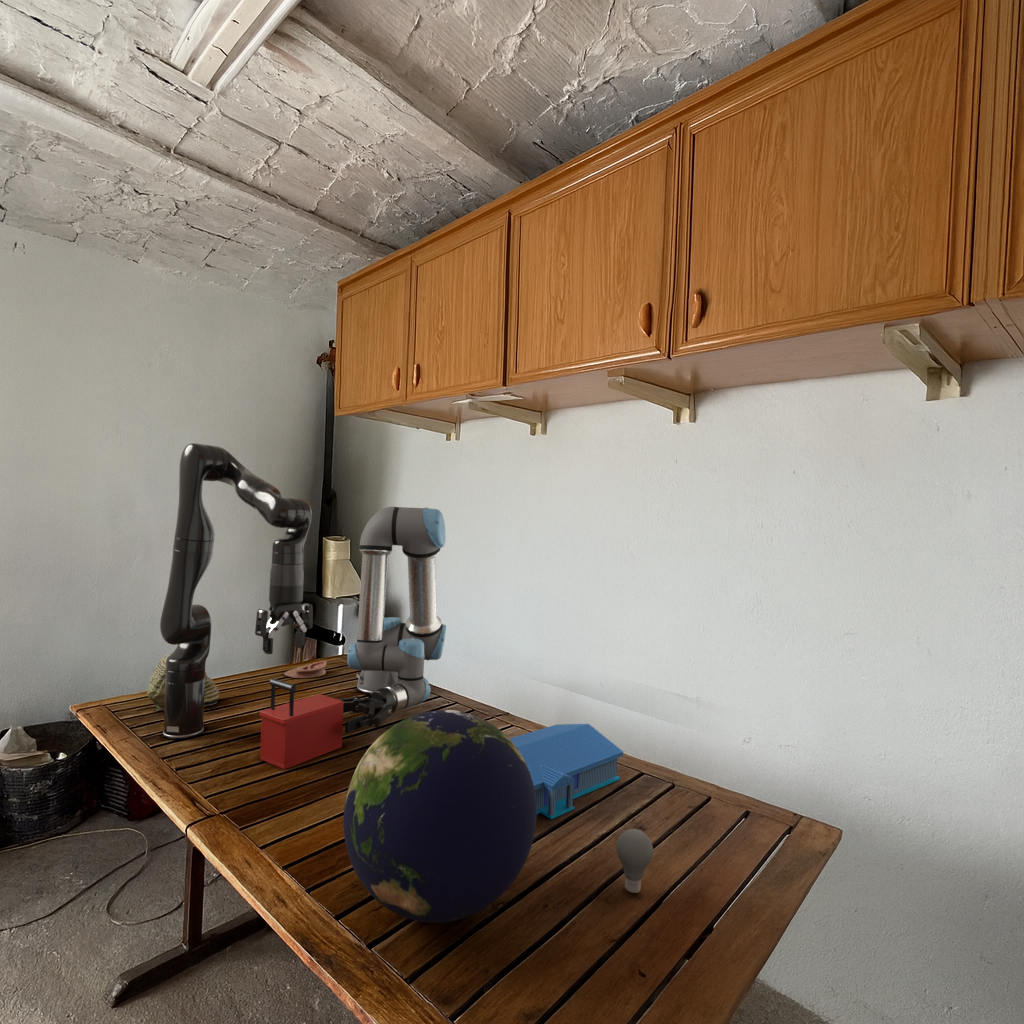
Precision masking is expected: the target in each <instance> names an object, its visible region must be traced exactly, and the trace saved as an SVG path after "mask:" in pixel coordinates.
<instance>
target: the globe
mask: <svg viewBox="0 0 1024 1024" xmlns="http://www.w3.org/2000/svg"><path fill="white" fill-rule="evenodd" d="M537 817H538V814H537V806H536V795H535V790H534V785H533V781H532V778H531V774H530V772H529V769H528V766H527V764H526V762H525V760H524V758H523V756H522V755H521V753H520V751H519V750H518V749H517V747H516V746H515V745H514V744H513V742H512V741H511V740H510V738H509V737H508V735H507V734H505V732H503V731H502V730H501V729H500V728H498V727H497V726H495V725H494V724H492V723H491V722H489V721H488V720H485V719H483V718H482V717H479V716H477V715H475V714H472V713H468V712H464V711H460V710H455V709H438V710H430V711H425V712H422V713H421V712H420V713H418V714H414V715H412V716H409V717H407V718H405V719H403V720H401V721H399V722H397V723H395V724H394V725H393V726H391V727H390V728H388V729H387V730H386V731H385V732H383V733H382V734H381V735H380V736H378V738H377V739H376V740H375V741H374V742H373V743H372V744H371V745H370V746H369V747H368V749H367V750H366V751H365V753H364V754H363V756H362V757H361V758H360V760H359V762H358V764H357V765H356V768H355V770H354V773H353V775H352V777H351V778H350V782H349V784H348V789H347V791H346V797H345V800H344V809H343V835H344V843H345V847H346V851H347V855H348V858H349V861H350V863H351V866H352V868H353V870H354V873H355V874H356V876H357V878H358V880H359V881H360V882H361V884H362V885H363V887H364V888H365V889H366V890H367V892H368V893H369V894H370V895H371V896H372V897H373V899H375V901H377V903H379V904H381V905H382V906H383V907H384V908H386V909H387V910H389V911H391V912H392V913H394V914H396V915H398V916H400V917H403V918H406V919H408V920H411V921H416V922H419V923H427V924H428V923H429V924H444V923H451V922H456V921H459V920H463V919H467V918H469V917H471V916H473V915H476V914H478V913H480V912H482V911H483V910H485V909H487V908H488V907H489V906H490V905H492V904H494V903H495V902H496V901H497V900H498V899H499V898H501V896H503V895H504V893H506V891H508V889H510V887H511V886H512V885H513V883H514V882H515V881H516V879H517V878H518V876H519V875H520V873H521V871H522V869H523V867H524V866H525V864H526V862H527V860H528V857H529V854H530V852H531V849H532V845H533V843H534V838H535V832H536V827H537Z"/></svg>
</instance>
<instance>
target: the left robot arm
mask: <svg viewBox="0 0 1024 1024" xmlns="http://www.w3.org/2000/svg"><path fill="white" fill-rule="evenodd" d="M178 474H179V475H178V476H179V477H178V506H177V515H176V516H177V517H176V525H175V530H174V538H173V546H172V557H171V563H170V564H171V565H170V570H169V578H168V583H167V590H166V594H165V599H164V603H163V608H162V611H161V616H160V621H159V631H160V634H161V637H162V638H163V640H164V641H165V642H166V643H167V644H168V645H172V646H176V647H175V649H174V650H173V652H172V653H170V654H169V655H170V656H168V658H167V660H166V674H165V705H164V710H163V731H162V737H164V738H166V739H169V740H185V739H190V738H191V739H192V738H194V737H197V736H199V735H202V734H203V732H204V730H205V729H204V722H205V721H204V718H205V706H204V693H205V672H206V664H207V663H206V662H207V658H208V657H209V654H210V649H211V639H212V617H211V614H210V612H209V610H208V609H207V608H206V607H205V606H203V605H201V604H196V603H195V604H194V596H195V592H196V590H197V587H198V585H199V583H200V581H201V579H202V578H203V576H204V574H205V573H206V571H207V569H208V567H209V565H210V563H211V561H212V558H213V553H214V546H215V539H216V538H215V537H216V533H215V529H214V525H213V523H212V521H211V519H210V518H211V517H210V516H209V514H208V513H207V510H206V507H205V505H204V501H203V485H204V482H220V483H224V484H225V485H228V486H231V487H232V488H234V492H235V494H236V495H237V497H238V498H239V500H241V501H242V502H243V503H244V504H246V505H248V506H249V507H251V508H252V509H254V510H256V511H257V512H258V514H259V515H260V516H261V517H262V519H263V520H264V521H265V522H266V523H267V524H268V525H270V526H272V527H274V528H278V529H286V530H285V533H284V534H283V536H281V537H279V538H277V539H274V540H273V542H272V544H271V545H272V546H271V566H270V570H269V589H268V590H269V592H268V595H269V596H268V601H269V609H260V608H258V609H257V610H256V616H255V617H256V618H255V631H254V634H255V636H258V637H261V638H262V651H263V653H264V654H266V655H272V654H273V653H274V649H273V648H274V635H275V634H276V632H277V631H279V630H280V628H281V627H286V626H288V625H289V626H293V627H294V629H295V630H296V631H295V636H294V637H295V638H294V647H295V648H297V649H303V648H304V645H305V643H306V640H305V639H306V632H307V630H309V629H310V630H311V629H313V627H314V622H313V621H314V617H313V616H314V615H313V612H314V610H313V608H314V607H313V604H310V603H302V602H303V600H304V577H305V573H304V572H305V571H304V546H305V543H306V540H307V537H308V535H309V530H310V527H311V524H312V520H313V519H312V518H313V512H312V507H311V505H310V503H309V502H308V501H307V500H306V499H304V498H301V497H300V498H298V497H283V495H282V492H281V491H280V490H279V488H277V487H275V486H274V485H273V484H271V483H269V482H268V481H266V480H264V479H262V478H261V477H259V476H258V475H256V474H254V473H253V472H251V471H250V470H249V469H248V468H247V467H246V466H245V465H243V464H242V462H240V461H239V460H238V459H237V458H236V457H235V456H233V454H231V453H230V452H229V451H228V450H226V449H225V448H223V447H221V446H217V445H211V444H204V443H198V442H197V443H195V442H193V443H189V444H187V445H186V446H184V448H183V450H182V452H181V455H180V460H179V471H178ZM300 615H301V616H300Z"/></svg>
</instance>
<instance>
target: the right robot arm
mask: <svg viewBox="0 0 1024 1024" xmlns="http://www.w3.org/2000/svg"><path fill="white" fill-rule="evenodd" d="M445 545H446V523H445V519H444V515H443V513H442V511H441V510H440V509H438V508H429V507H409V506H408V507H406V506H404V507H403V506H386V507H384V508H382V509H380V510H378V511H377V512H376V513H375V514H374V515H372V517H370V519H369V520H368V521H367V523H366V525H365V526H364V528H363V531H362V533H361V536H360V540H359V552H360V554H361V555H362V557H361V572H360V585H359V601H358V614H357V615H358V616H357V631H356V643H352V644H350V645H349V647H348V651H347V656H346V657H347V659H346V661H347V666H348V668H349V669H351V670H357V671H361V672H360V674H358V673H356V678H358V680H357V683H356V691H357V692H358V693H360V694H363V695H367V696H368V697H363V698H360V695H354V696H351V697H350V696H349V697H344V698H343V697H342V698H337V699H338V700H341V701H344V705H343V713H348V712H349V713H350V712H352V713H353V714H363V715H360V716H357V717H355V718H352V719H349V720H346V721H345V723H344V724H345V726H344V728H345V729H344V733H345V734H348V733H351V732H354V731H356V730H359V729H363V728H364V727H367V726H368V727H372V726H374V727H375V728H379V727H380V726H381V725H382V724H383V723H384V722H385V721H386V720H387V719H388V718H389V717H391V716H392V715H395V714H396V713H397V712H399V711H402V710H405V709H408V708H411V707H413V706H417V705H420V704H422V703H424V702H425V701H427V700H428V699H429V697H430V695H431V693H432V692H431V691H432V690H431V688H432V687H431V685H430V682H429V680H428V679H427V678H426V677H424V671H425V661H438V660H441V658H442V656H443V650H444V645H445V640H446V639H445V638H446V632H447V625H446V624H443V623H442V620H441V619H442V618H440V616H439V615H437V614H438V613H437V564H436V563H437V560H436V559H437V558H436V556H437V555H439V554H440V552H441V549H442V548H443V547H445ZM394 546H397V547H398V546H400V547H401V550H402V553H403V555H405V556H406V557H407V574H408V575H407V577H408V578H407V579H408V600H409V605H408V606H409V616H408V617H407V619H406V620H405V622H402V621H403V620H402V619H401V617H395V616H389V617H385V612H386V611H385V610H386V596H387V582H388V565H389V556H390V555H391V554H392V553H393V547H394Z"/></svg>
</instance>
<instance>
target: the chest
mask: <svg viewBox="0 0 1024 1024" xmlns="http://www.w3.org/2000/svg"><path fill="white" fill-rule="evenodd" d="M343 726H344V712H343V705H342V706H339V707H336V708H333V709H330V710H327V711H324V712H321V713H317V714H314V715H311V716H308V717H305V718H302V719H299V720H296V721H292V722H289V723H286V724H282V723H279V722H276V721H273V720H271V719H268V718H265V717H262V716H261V724H260V749H259V751H260V753H259V759H260V760H261V761H263V762H265V763H268V764H270V765H273V766H275V767H277V768H280V769H282V770H287V769H290V768H293V767H294V766H296V765H300V764H302V763H305V762H308V761H310V760H312V759H315V758H318V757H320V756H322V755H326V754H327V753H330V752H334V751H335V750H338V749H340V748H343V728H344V727H343Z"/></svg>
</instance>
